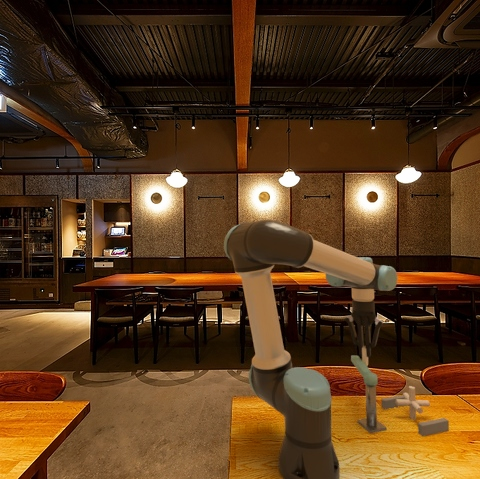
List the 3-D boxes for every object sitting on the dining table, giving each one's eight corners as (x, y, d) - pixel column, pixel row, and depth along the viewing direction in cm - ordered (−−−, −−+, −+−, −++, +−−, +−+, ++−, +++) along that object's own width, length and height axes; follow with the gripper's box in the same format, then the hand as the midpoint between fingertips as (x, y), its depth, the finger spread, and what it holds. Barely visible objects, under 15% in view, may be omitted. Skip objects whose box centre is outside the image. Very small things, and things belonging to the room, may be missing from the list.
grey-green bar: (379, 385, 92) (379, 377, 92) (366, 385, 93) (365, 377, 93) (360, 361, 112) (359, 355, 112) (349, 361, 112) (349, 354, 113)
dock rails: (422, 436, 89) (422, 425, 89) (381, 407, 105) (381, 398, 105) (448, 430, 91) (448, 420, 91) (404, 403, 108) (404, 394, 108)
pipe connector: (421, 410, 102) (420, 381, 103) (437, 427, 93) (436, 395, 93) (390, 409, 103) (390, 380, 104) (403, 426, 94) (402, 394, 94)
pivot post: (370, 433, 90) (369, 388, 91) (357, 422, 96) (356, 380, 96) (386, 430, 92) (385, 386, 92) (373, 419, 98) (372, 378, 98)
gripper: (384, 299, 108) (386, 365, 107) (347, 296, 115) (349, 358, 114) (380, 302, 101) (383, 372, 101) (341, 299, 109) (344, 365, 108)
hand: (365, 365), depth 107 cm, fingers closed
